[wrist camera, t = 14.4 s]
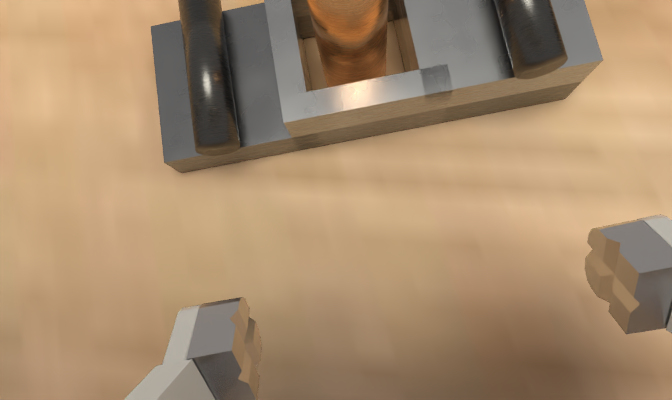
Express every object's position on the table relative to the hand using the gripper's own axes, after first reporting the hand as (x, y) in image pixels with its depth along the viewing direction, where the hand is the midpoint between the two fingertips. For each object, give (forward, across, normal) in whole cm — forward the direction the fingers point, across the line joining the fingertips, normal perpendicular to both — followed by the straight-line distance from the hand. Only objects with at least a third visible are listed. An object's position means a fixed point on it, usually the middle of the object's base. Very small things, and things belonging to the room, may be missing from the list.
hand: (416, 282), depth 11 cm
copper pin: (+16, 0, 0) cm, 16 cm away
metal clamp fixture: (+16, 0, 0) cm, 16 cm away
